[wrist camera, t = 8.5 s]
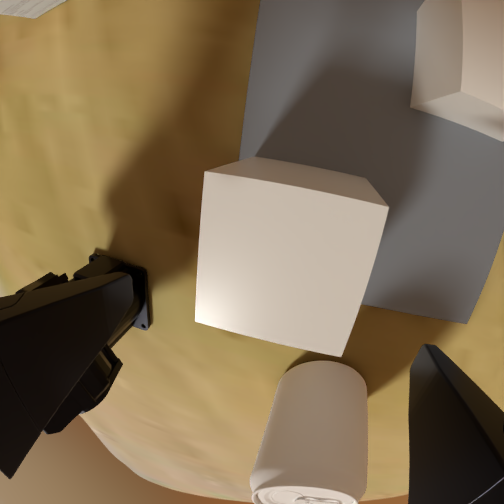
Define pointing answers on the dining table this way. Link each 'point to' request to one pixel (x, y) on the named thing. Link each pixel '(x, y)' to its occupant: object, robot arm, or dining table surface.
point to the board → (379, 145)
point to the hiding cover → (461, 63)
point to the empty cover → (286, 251)
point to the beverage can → (314, 438)
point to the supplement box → (27, 7)
